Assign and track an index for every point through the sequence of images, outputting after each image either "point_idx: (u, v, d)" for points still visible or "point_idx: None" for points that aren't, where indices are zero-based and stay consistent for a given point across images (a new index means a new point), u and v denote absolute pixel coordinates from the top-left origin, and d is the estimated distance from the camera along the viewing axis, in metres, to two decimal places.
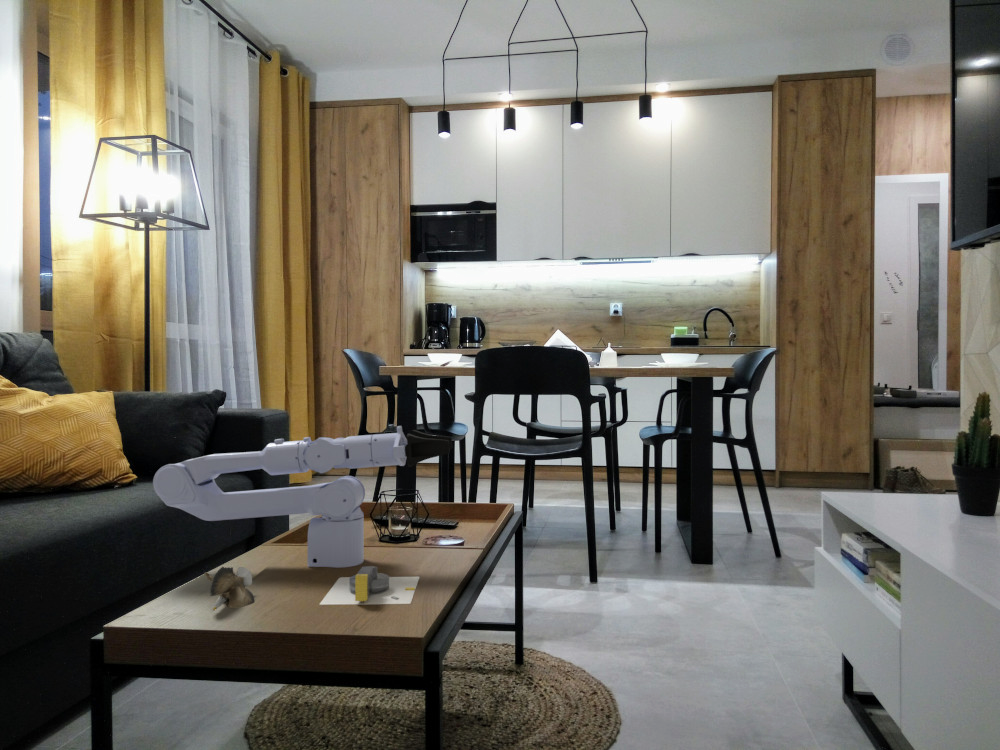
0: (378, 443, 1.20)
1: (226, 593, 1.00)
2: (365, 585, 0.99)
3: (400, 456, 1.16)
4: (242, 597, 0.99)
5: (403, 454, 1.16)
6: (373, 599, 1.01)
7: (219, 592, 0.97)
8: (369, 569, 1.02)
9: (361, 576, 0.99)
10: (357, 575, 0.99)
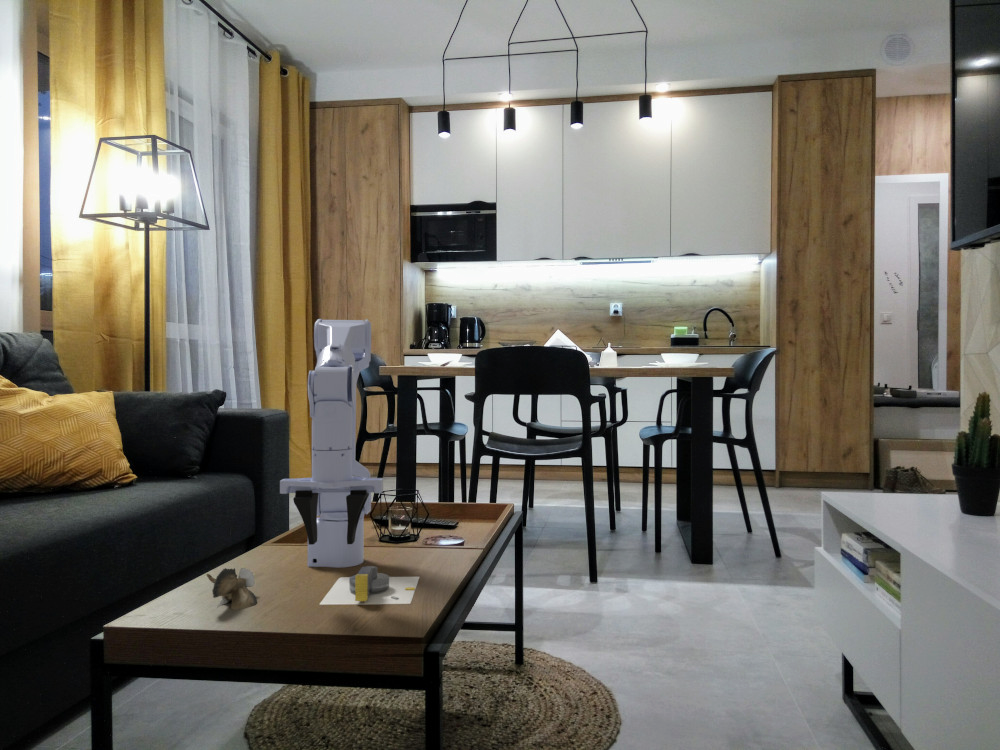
0: (312, 458, 0.99)
1: (228, 595, 0.99)
2: (365, 585, 0.99)
3: None
4: (245, 598, 0.98)
5: None
6: (373, 599, 1.01)
7: (222, 594, 0.97)
8: (369, 569, 1.02)
9: (361, 576, 0.99)
10: (357, 575, 0.99)
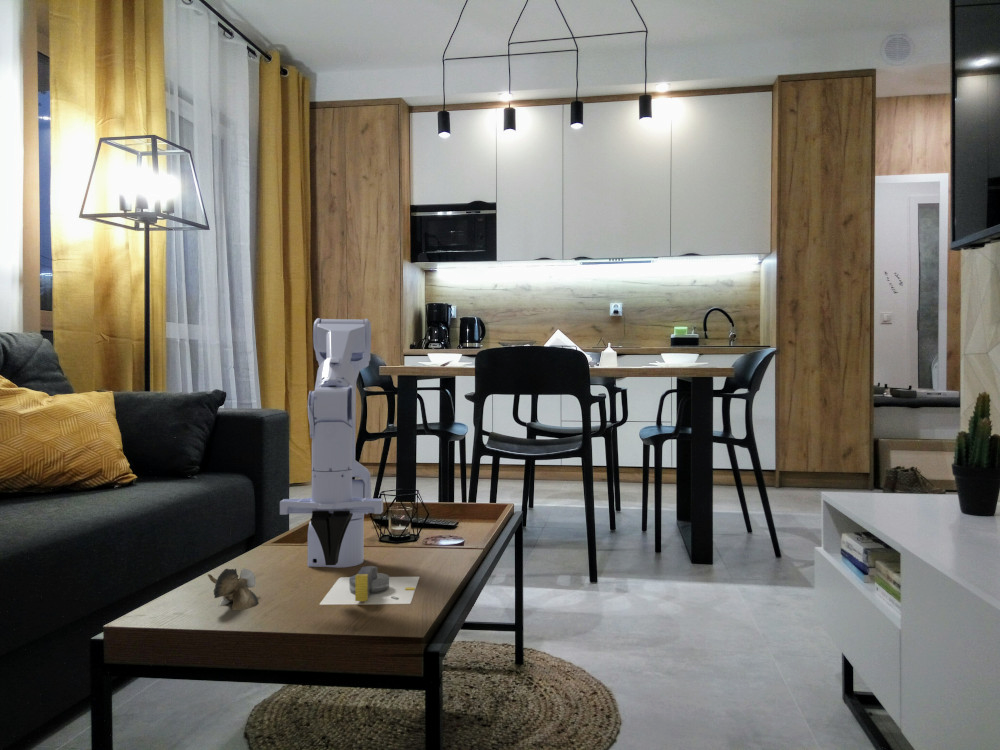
0: (312, 479, 0.99)
1: (230, 595, 0.99)
2: (365, 585, 0.99)
3: None
4: (246, 599, 0.98)
5: None
6: (373, 599, 1.01)
7: (223, 594, 0.96)
8: (369, 569, 1.02)
9: (361, 576, 0.99)
10: (357, 575, 0.99)
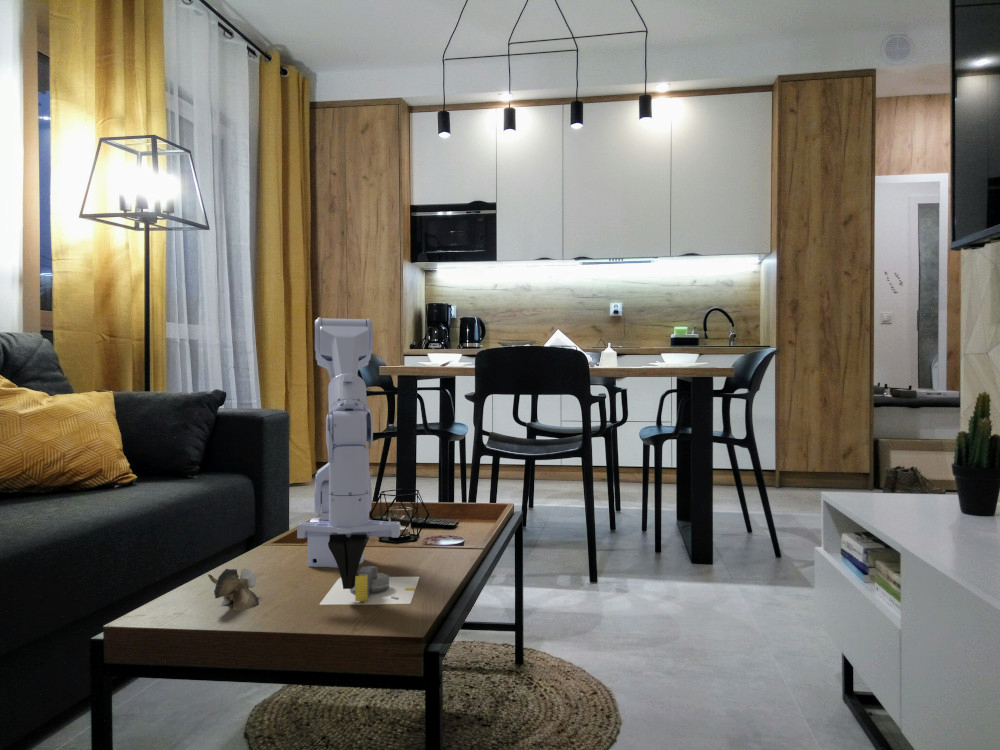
0: (330, 503, 0.99)
1: (230, 595, 0.99)
2: (365, 585, 0.99)
3: None
4: (247, 599, 0.98)
5: None
6: (373, 599, 1.01)
7: (223, 594, 0.96)
8: (369, 569, 1.02)
9: (361, 576, 0.99)
10: (357, 575, 0.99)
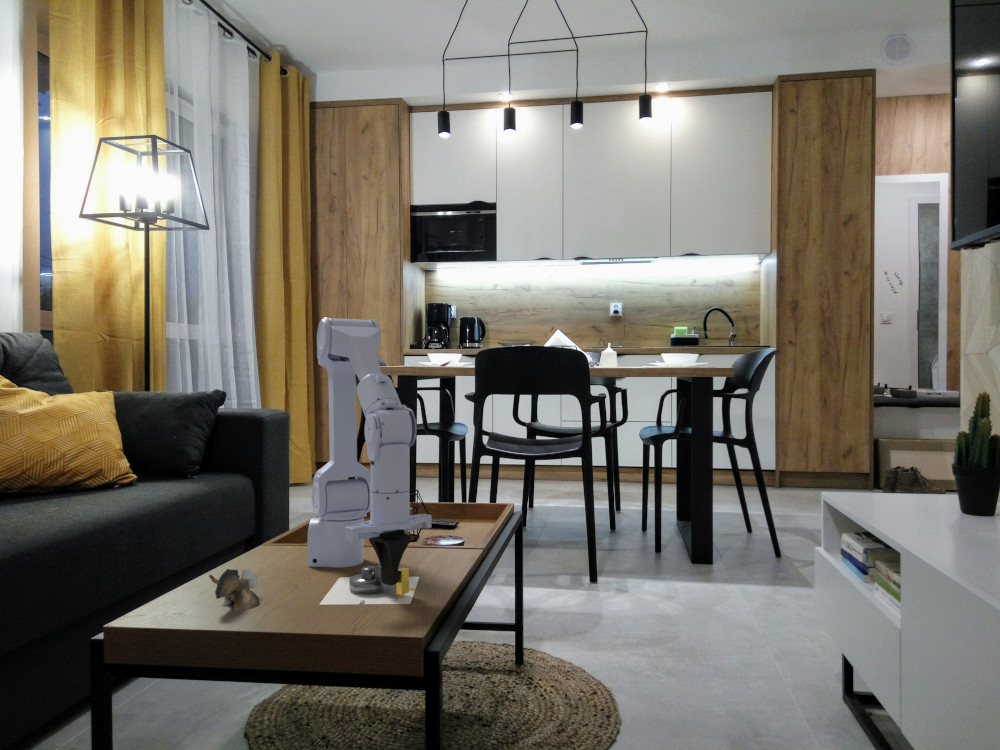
0: (382, 502, 0.99)
1: (231, 595, 0.99)
2: (407, 577, 1.03)
3: (345, 535, 0.97)
4: (248, 599, 0.98)
5: (346, 539, 0.97)
6: (373, 599, 1.01)
7: (224, 594, 0.96)
8: None
9: (405, 570, 1.02)
10: (400, 570, 1.02)
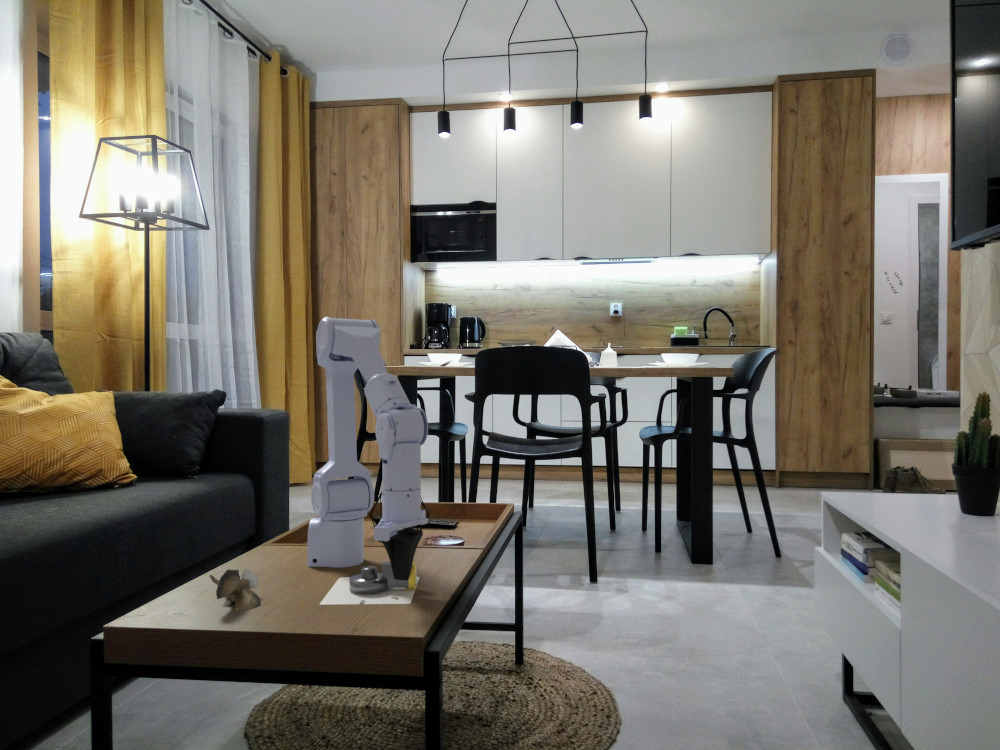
0: (403, 499, 1.01)
1: (232, 596, 0.99)
2: (416, 571, 1.06)
3: (375, 535, 0.97)
4: (249, 600, 0.98)
5: (377, 539, 0.97)
6: (373, 599, 1.01)
7: (225, 595, 0.96)
8: None
9: (415, 564, 1.06)
10: (412, 564, 1.05)
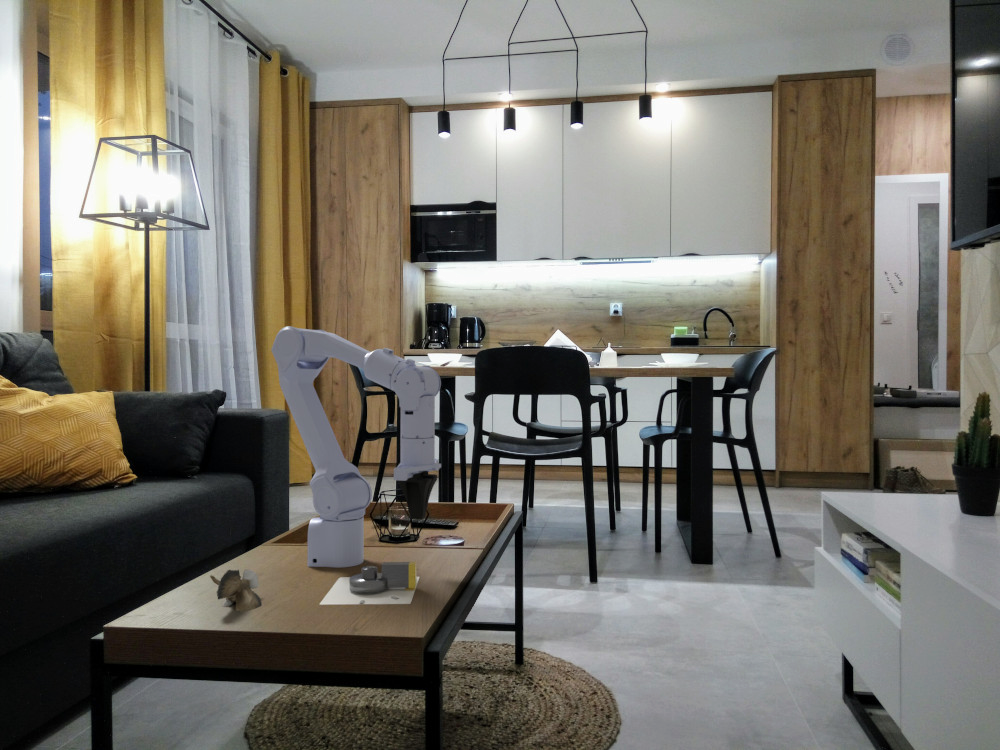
0: (419, 446, 1.14)
1: (232, 596, 0.99)
2: (416, 570, 1.06)
3: (395, 475, 1.10)
4: (250, 600, 0.98)
5: (396, 479, 1.10)
6: (373, 599, 1.01)
7: (226, 595, 0.96)
8: (392, 562, 1.06)
9: (415, 563, 1.06)
10: (412, 564, 1.05)
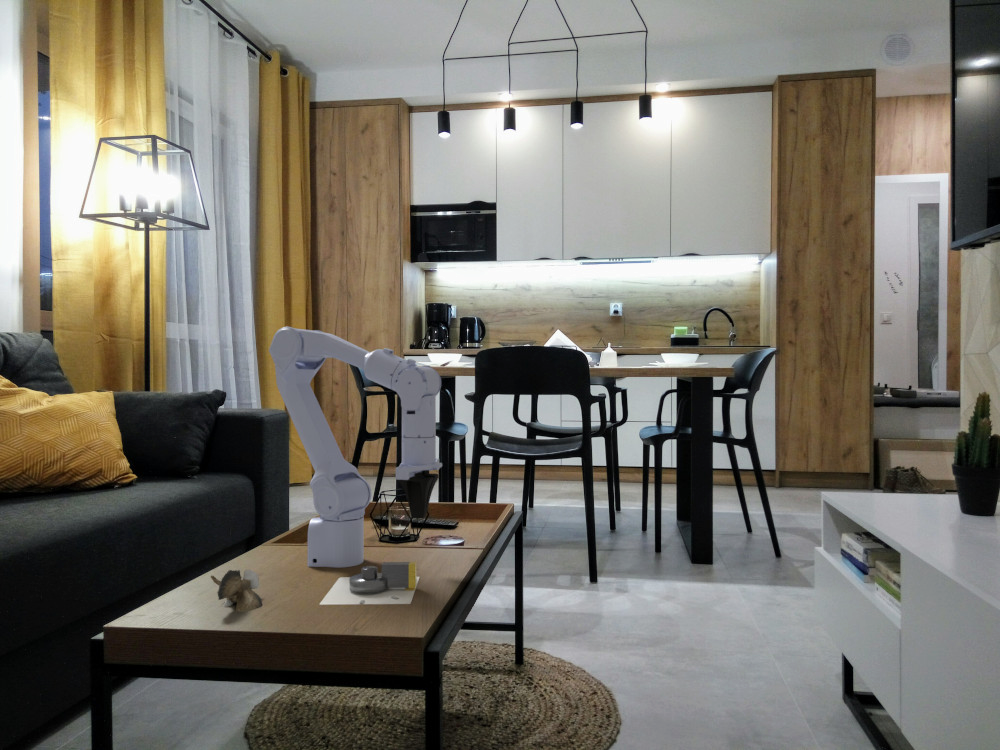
0: (420, 445, 1.14)
1: (233, 596, 0.98)
2: (416, 570, 1.06)
3: (397, 475, 1.10)
4: (250, 600, 0.97)
5: (398, 478, 1.10)
6: (373, 599, 1.01)
7: (227, 595, 0.96)
8: (392, 562, 1.06)
9: (415, 563, 1.06)
10: (412, 564, 1.05)
